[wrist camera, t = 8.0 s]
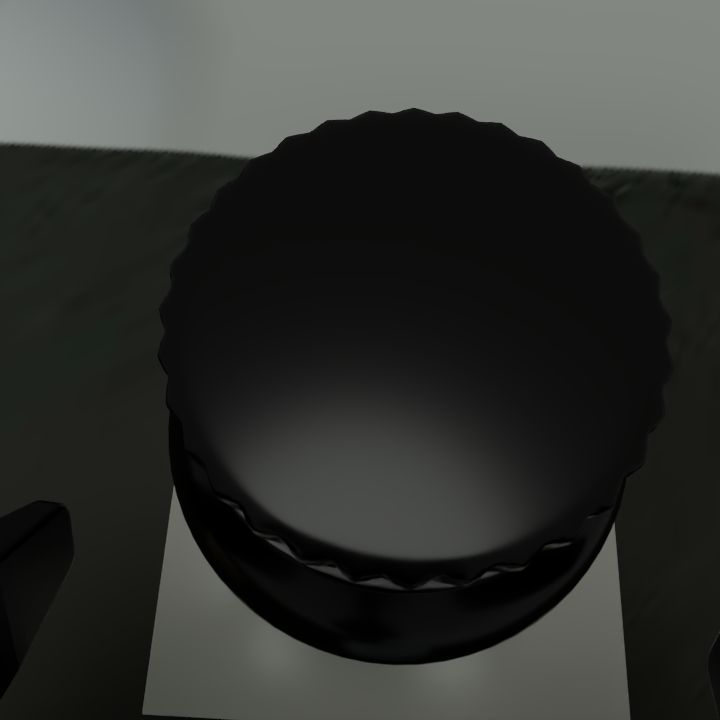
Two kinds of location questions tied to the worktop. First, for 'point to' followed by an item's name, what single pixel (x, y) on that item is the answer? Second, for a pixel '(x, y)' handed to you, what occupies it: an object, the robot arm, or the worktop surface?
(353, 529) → the supplement bottle
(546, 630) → the plate
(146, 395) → the worktop surface
